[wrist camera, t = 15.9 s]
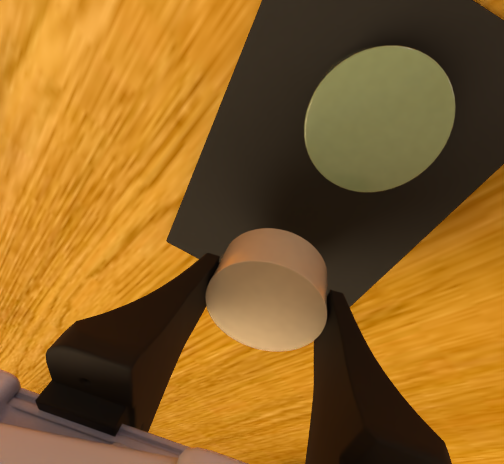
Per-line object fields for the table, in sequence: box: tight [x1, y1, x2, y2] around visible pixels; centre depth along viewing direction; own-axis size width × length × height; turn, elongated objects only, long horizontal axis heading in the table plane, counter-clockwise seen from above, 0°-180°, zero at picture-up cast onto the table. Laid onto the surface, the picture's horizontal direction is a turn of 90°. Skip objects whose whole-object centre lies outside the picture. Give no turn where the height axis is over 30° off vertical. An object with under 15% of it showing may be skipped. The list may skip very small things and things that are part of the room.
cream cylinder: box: [205, 228, 327, 351], centre depth 14 cm, size 5×5×3 cm
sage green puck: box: [304, 45, 456, 192], centre depth 13 cm, size 5×5×3 cm
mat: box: [166, 0, 504, 307], centre depth 16 cm, size 13×18×1 cm
